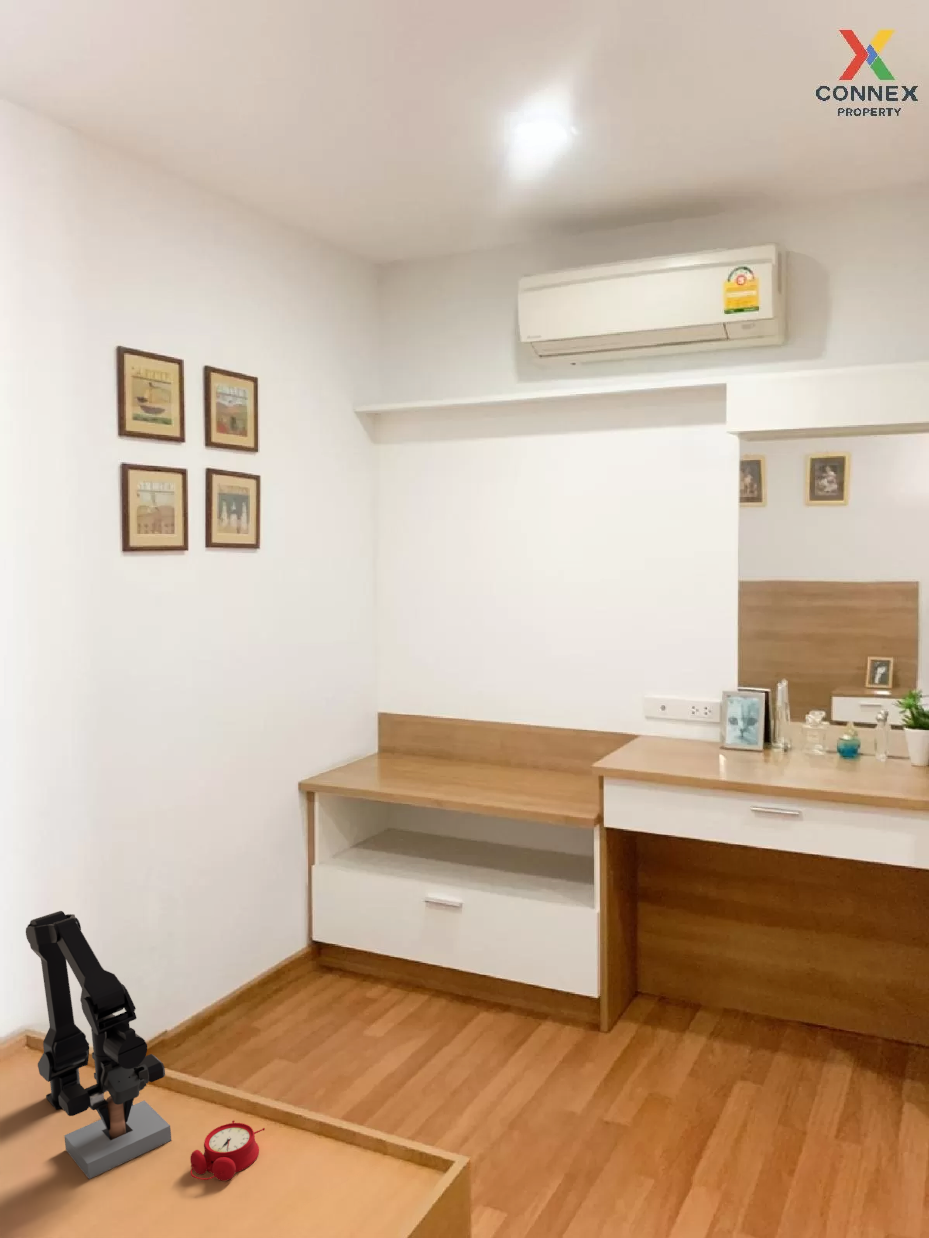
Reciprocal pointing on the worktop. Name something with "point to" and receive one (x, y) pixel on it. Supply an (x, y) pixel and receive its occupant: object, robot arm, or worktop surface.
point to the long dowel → (116, 1119)
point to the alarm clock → (226, 1151)
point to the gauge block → (117, 1140)
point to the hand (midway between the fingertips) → (116, 1125)
